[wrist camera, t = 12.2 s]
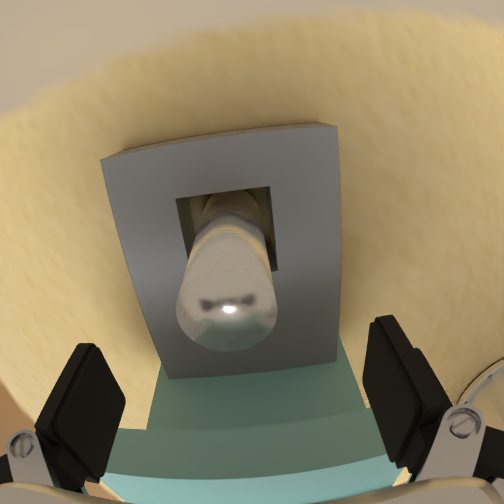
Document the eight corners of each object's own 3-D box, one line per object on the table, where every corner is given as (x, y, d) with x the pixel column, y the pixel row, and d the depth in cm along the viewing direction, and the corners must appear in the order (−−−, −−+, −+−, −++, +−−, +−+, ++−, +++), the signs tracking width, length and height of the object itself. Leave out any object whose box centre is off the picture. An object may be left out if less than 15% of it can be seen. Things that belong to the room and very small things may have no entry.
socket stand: (333, 122, 21) (552, 190, 4) (335, 345, 29) (392, 519, 13) (109, 153, 21) (-94, 274, 5) (170, 363, 29) (140, 538, 13)
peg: (255, 184, 22) (273, 263, 12) (261, 236, 24) (280, 346, 13) (199, 191, 22) (164, 276, 12) (208, 243, 24) (188, 355, 13)
